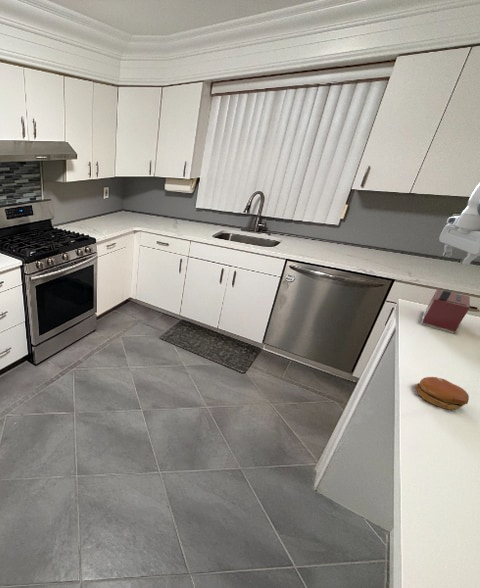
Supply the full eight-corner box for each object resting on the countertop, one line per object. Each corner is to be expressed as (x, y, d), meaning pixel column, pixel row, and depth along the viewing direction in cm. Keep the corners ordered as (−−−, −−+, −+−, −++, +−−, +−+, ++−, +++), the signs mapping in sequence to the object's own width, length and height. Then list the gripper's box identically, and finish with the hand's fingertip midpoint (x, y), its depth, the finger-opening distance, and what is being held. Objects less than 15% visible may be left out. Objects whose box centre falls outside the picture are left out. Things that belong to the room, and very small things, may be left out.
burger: (433, 409, 81) (442, 395, 79) (405, 385, 90) (412, 372, 88) (475, 413, 80) (485, 399, 78) (442, 388, 89) (450, 375, 87)
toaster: (423, 312, 132) (437, 288, 127) (455, 320, 125) (470, 296, 121) (420, 323, 122) (434, 299, 118) (454, 333, 116) (470, 307, 112)
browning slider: (439, 296, 119) (443, 289, 117) (446, 298, 117) (451, 291, 116) (439, 298, 117) (443, 291, 116) (446, 300, 116) (451, 292, 115)
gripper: (513, 230, 99) (488, 270, 105) (466, 218, 117) (447, 253, 123) (487, 228, 101) (464, 268, 107) (444, 217, 118) (427, 251, 124)
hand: (454, 260), depth 115 cm, fingers open, 8 cm apart
